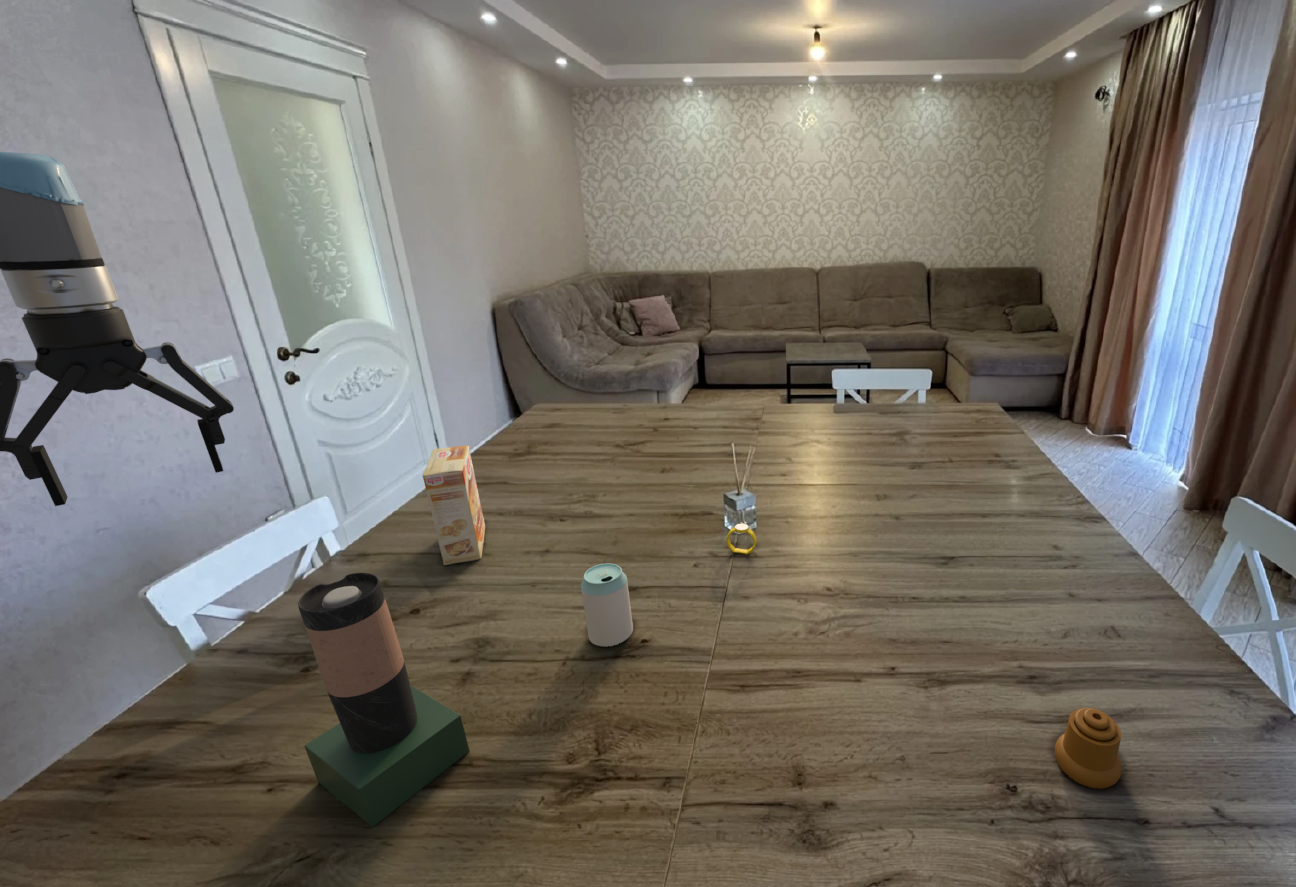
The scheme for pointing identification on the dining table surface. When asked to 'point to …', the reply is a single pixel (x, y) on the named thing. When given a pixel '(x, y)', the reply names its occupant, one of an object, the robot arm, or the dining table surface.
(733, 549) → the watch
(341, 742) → the green block
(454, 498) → the coffeecake box
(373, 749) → the travel mug
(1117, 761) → the ornamental finial
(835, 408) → the dining table surface
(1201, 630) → the dining table surface
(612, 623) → the can
